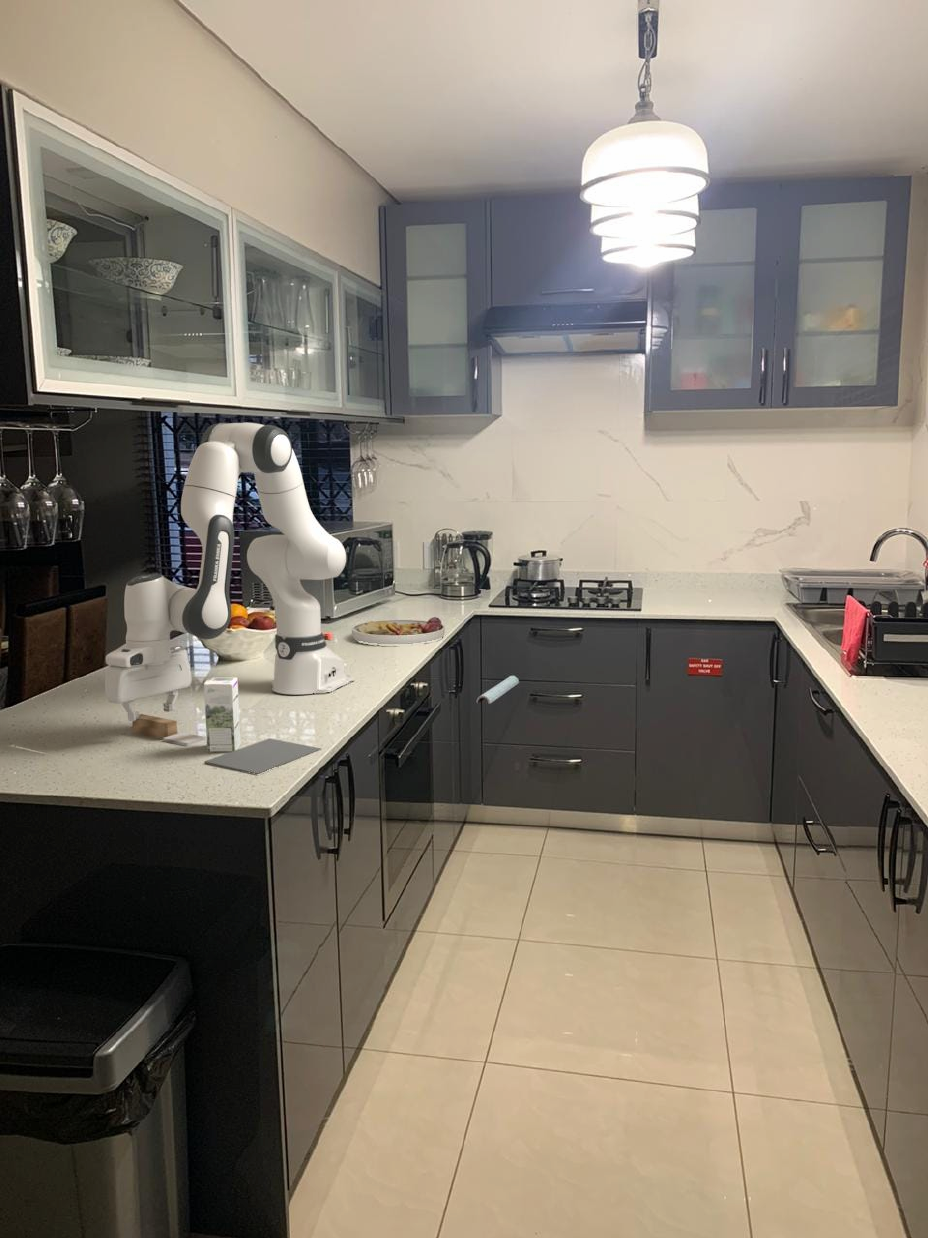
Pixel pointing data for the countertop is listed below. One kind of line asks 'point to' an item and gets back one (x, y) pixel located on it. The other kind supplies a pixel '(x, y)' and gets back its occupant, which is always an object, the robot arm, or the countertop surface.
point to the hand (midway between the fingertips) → (151, 715)
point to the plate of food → (399, 631)
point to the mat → (262, 756)
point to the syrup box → (222, 714)
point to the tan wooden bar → (163, 730)
